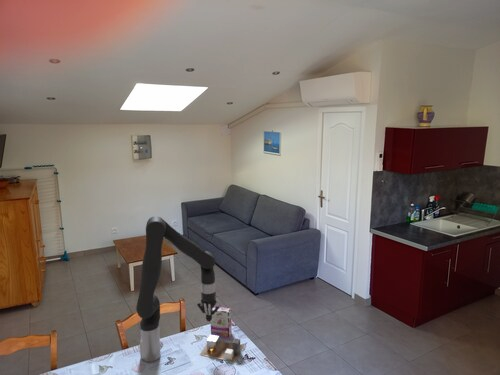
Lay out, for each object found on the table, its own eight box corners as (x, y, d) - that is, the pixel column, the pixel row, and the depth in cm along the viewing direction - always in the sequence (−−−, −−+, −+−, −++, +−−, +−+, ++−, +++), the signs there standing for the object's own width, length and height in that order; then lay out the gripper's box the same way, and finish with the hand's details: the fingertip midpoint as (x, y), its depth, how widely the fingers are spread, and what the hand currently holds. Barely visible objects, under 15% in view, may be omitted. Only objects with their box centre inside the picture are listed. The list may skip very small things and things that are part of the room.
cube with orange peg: (204, 354, 182) (204, 343, 181) (210, 344, 190) (210, 334, 189) (213, 355, 181) (213, 345, 180) (219, 346, 189) (219, 336, 188)
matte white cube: (224, 358, 179) (224, 352, 178) (227, 354, 182) (227, 348, 181) (231, 360, 178) (231, 353, 177) (233, 355, 181) (233, 349, 180)
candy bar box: (231, 334, 202) (231, 307, 199) (229, 339, 197) (228, 312, 194) (213, 331, 204) (212, 305, 202) (210, 336, 199) (209, 310, 197)
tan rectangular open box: (199, 356, 182) (198, 342, 181) (210, 341, 195) (209, 328, 194) (235, 364, 176) (235, 349, 175) (244, 347, 189) (243, 334, 188)
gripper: (193, 291, 180) (194, 322, 183) (217, 294, 176) (218, 326, 179) (199, 285, 187) (200, 315, 190) (222, 288, 183) (223, 318, 186)
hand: (209, 320), depth 185 cm, fingers closed
